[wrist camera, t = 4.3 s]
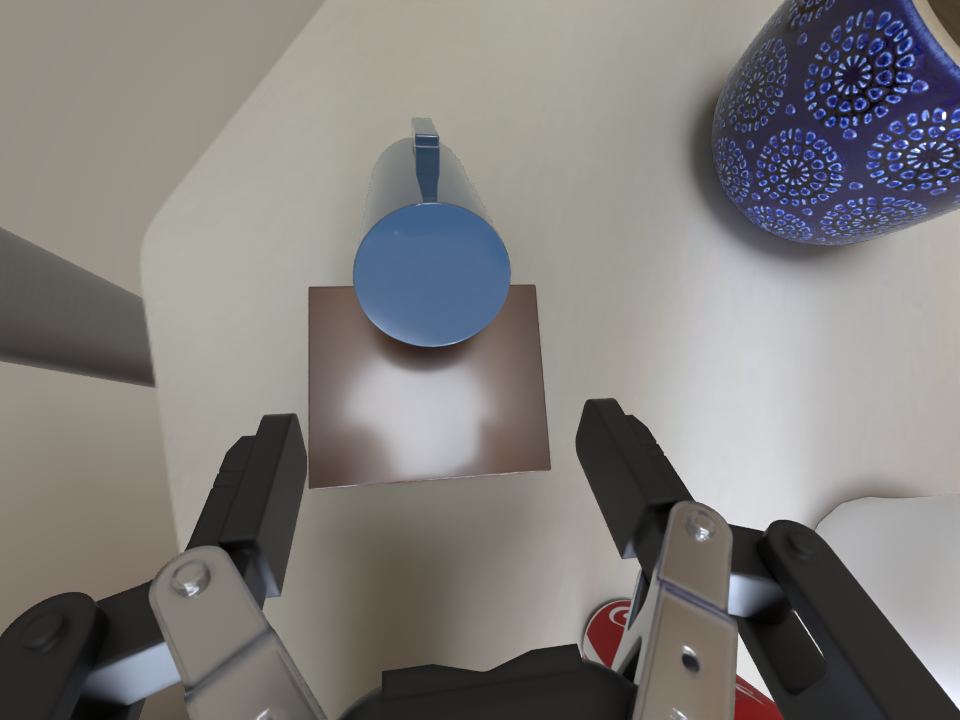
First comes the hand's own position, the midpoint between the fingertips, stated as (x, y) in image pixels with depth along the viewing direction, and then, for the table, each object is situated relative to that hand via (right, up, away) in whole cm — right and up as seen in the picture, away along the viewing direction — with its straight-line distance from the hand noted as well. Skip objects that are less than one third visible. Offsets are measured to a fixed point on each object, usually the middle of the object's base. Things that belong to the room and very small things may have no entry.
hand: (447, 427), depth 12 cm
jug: (-3, +8, +16) cm, 18 cm away
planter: (+24, +17, +22) cm, 37 cm away
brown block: (-2, 0, +15) cm, 15 cm away
